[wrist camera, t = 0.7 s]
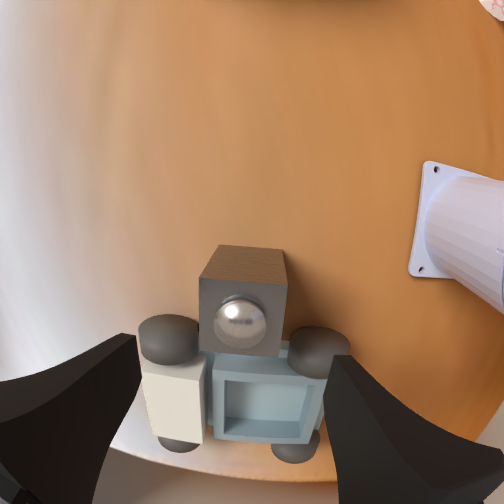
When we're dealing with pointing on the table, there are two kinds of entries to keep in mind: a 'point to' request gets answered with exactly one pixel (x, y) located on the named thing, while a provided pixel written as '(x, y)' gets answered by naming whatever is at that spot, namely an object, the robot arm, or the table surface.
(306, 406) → the chassis
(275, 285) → the grey block with knob
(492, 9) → the beverage cup
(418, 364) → the table surface
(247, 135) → the table surface
